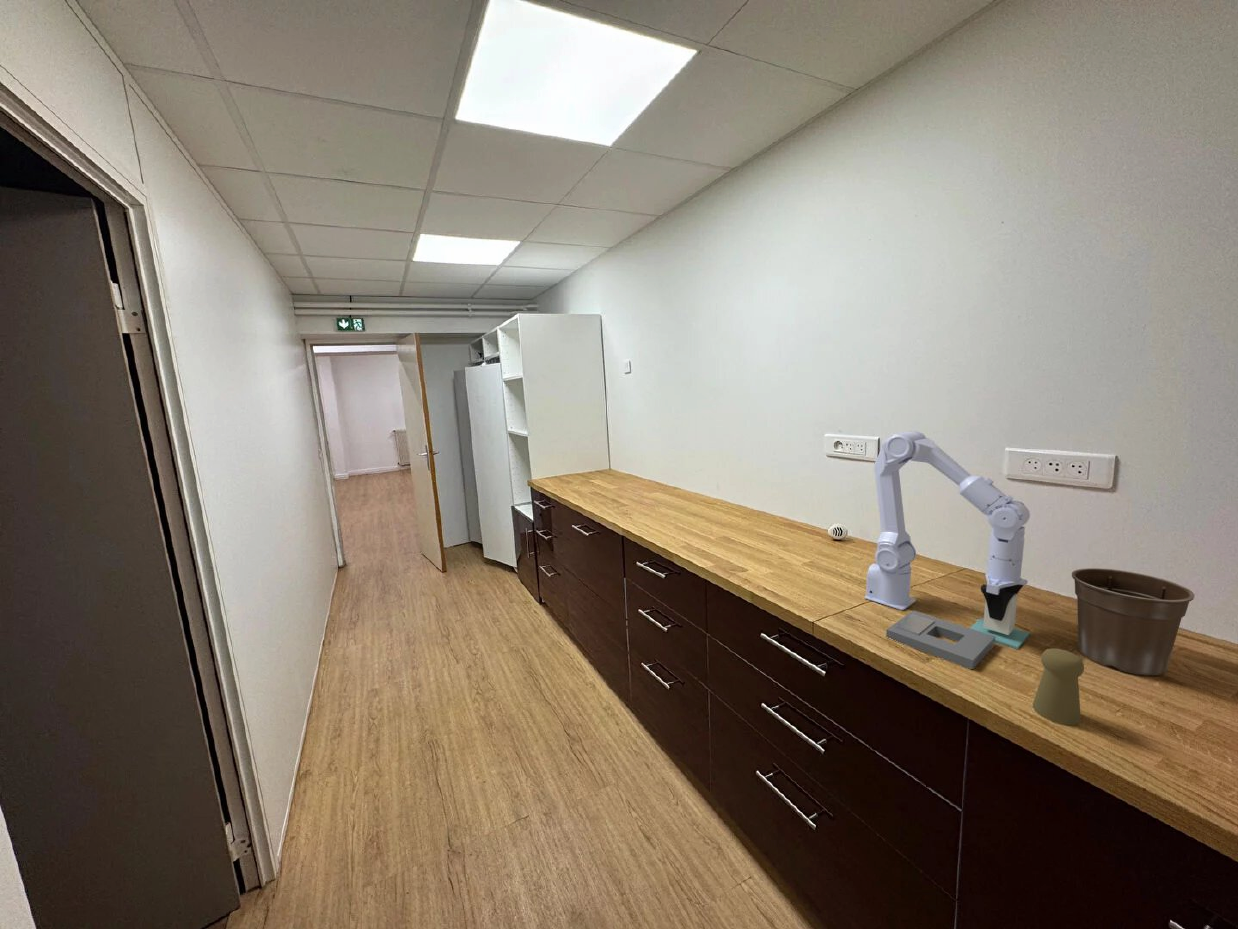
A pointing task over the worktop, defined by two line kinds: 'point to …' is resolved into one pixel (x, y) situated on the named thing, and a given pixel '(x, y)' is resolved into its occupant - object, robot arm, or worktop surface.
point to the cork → (1059, 687)
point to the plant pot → (1128, 618)
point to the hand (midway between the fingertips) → (999, 615)
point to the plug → (1007, 621)
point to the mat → (1003, 635)
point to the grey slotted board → (920, 634)
